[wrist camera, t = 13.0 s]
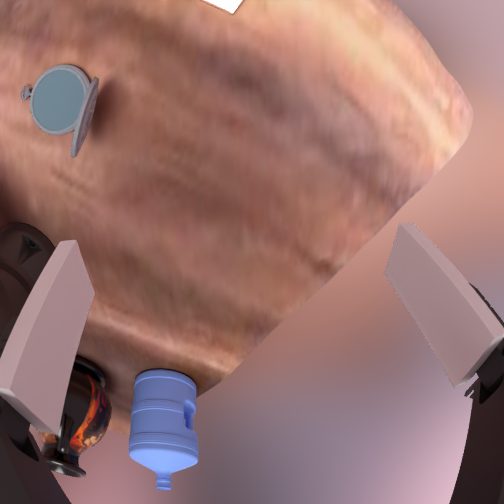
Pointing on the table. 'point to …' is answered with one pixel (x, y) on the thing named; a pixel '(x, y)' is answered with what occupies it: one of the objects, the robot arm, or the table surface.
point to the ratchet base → (225, 4)
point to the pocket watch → (63, 102)
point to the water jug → (163, 423)
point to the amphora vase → (78, 419)
